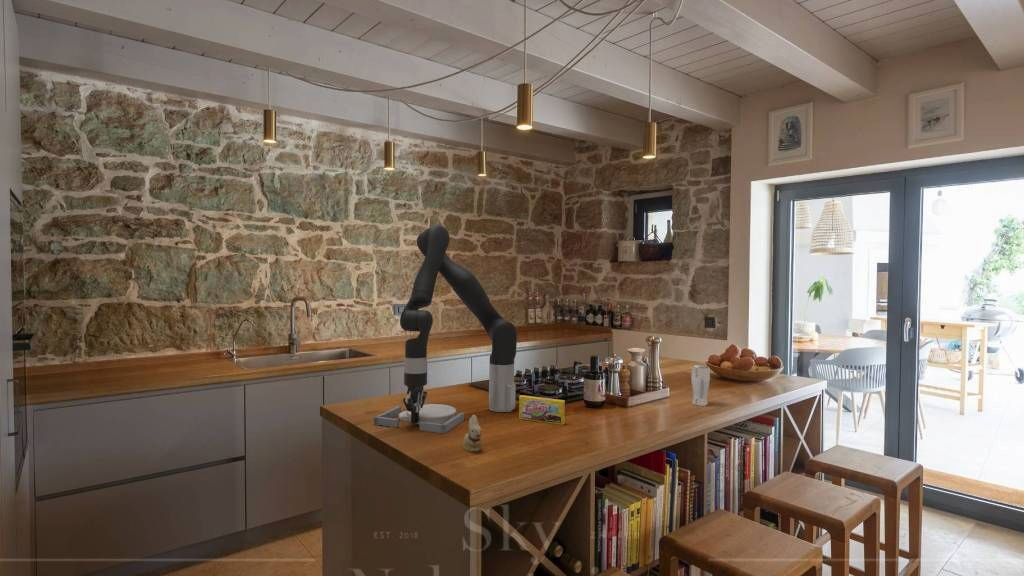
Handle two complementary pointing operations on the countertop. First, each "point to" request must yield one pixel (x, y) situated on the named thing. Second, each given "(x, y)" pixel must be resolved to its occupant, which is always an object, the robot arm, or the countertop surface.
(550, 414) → the candy box
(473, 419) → the chocolate bunny
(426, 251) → the robot arm
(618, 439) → the countertop surface
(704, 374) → the beer glass
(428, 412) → the lid
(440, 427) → the lid holder
